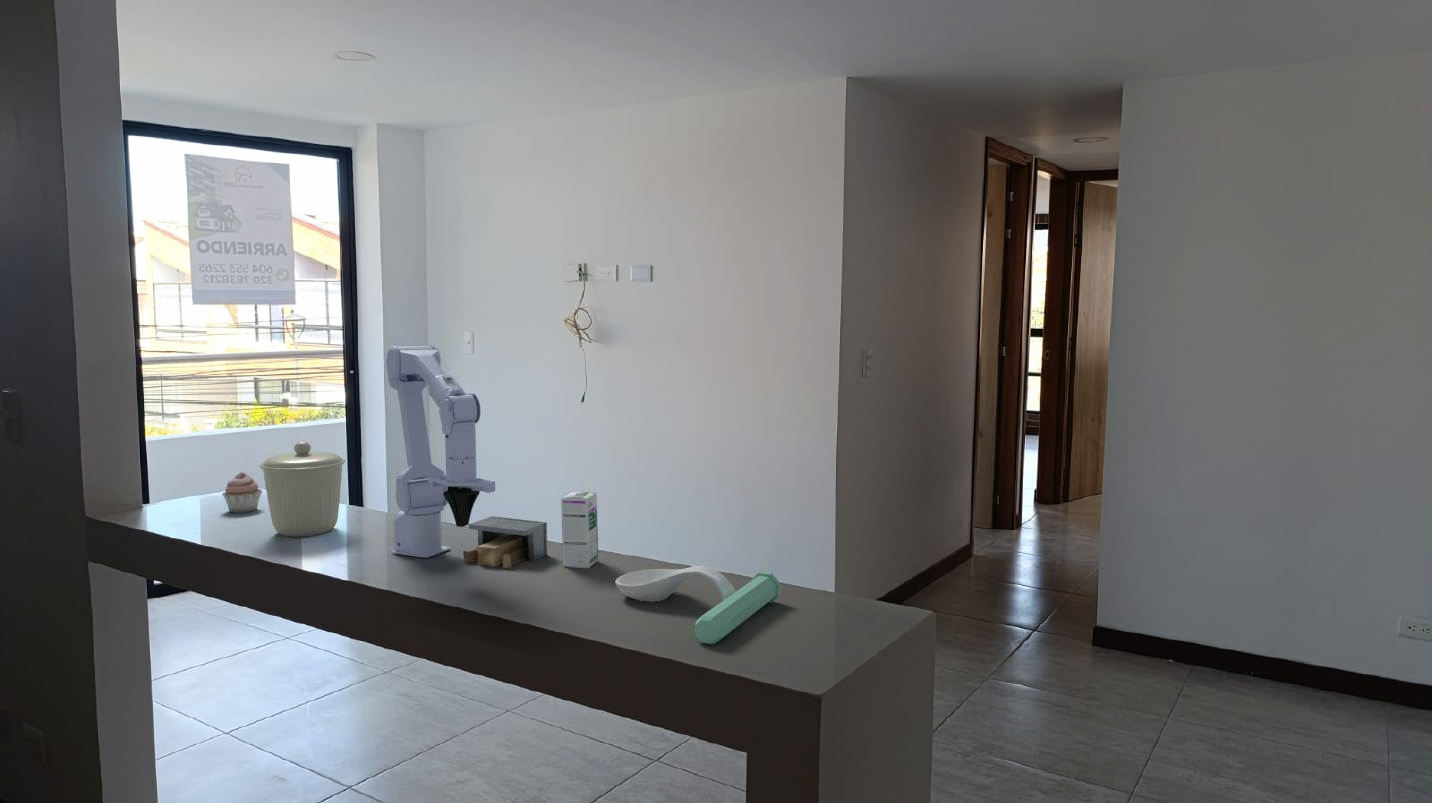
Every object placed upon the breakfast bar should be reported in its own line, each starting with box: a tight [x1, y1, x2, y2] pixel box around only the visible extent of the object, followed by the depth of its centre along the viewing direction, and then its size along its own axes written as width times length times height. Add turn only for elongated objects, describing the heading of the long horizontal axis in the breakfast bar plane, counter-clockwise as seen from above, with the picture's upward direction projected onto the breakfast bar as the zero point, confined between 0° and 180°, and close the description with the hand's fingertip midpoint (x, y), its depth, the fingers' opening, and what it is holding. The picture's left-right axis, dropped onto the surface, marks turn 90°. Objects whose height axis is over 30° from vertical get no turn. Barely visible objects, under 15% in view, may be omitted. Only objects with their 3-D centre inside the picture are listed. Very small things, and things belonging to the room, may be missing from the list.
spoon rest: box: [614, 565, 736, 603], centre depth 169 cm, size 24×12×7 cm, turn 61°
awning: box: [462, 516, 548, 569], centre depth 197 cm, size 14×12×7 cm
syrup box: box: [560, 491, 599, 569], centre depth 193 cm, size 6×6×14 cm
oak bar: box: [477, 535, 523, 567], centre depth 196 cm, size 4×10×4 cm, turn 157°
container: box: [694, 571, 781, 645], centre depth 159 cm, size 6×6×25 cm
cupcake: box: [221, 471, 263, 514], centre depth 240 cm, size 9×9×10 cm
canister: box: [259, 441, 346, 538], centre depth 218 cm, size 18×18×21 cm
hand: (462, 525), depth 184 cm, fingers closed
